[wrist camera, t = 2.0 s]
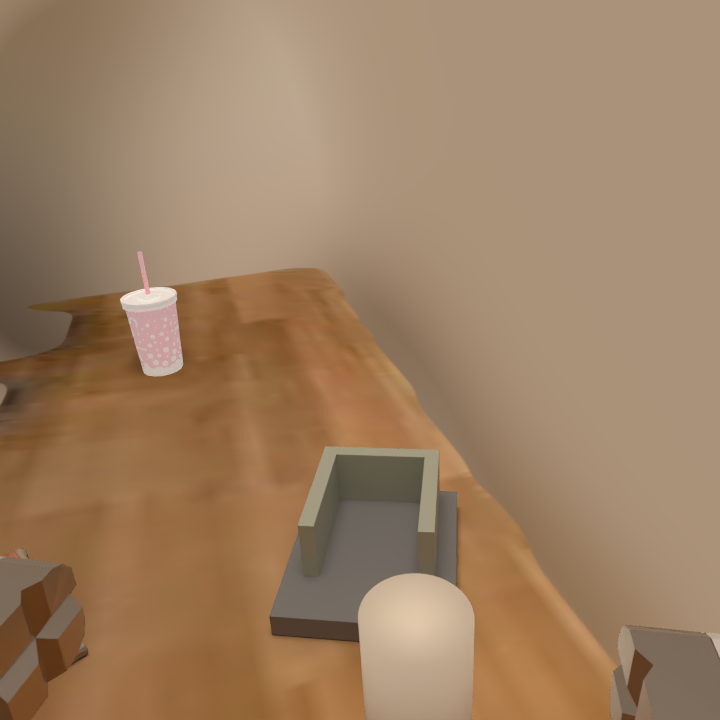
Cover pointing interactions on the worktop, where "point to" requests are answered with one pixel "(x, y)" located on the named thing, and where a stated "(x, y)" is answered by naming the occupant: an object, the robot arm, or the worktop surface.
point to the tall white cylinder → (416, 649)
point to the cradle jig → (364, 537)
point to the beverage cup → (154, 327)
